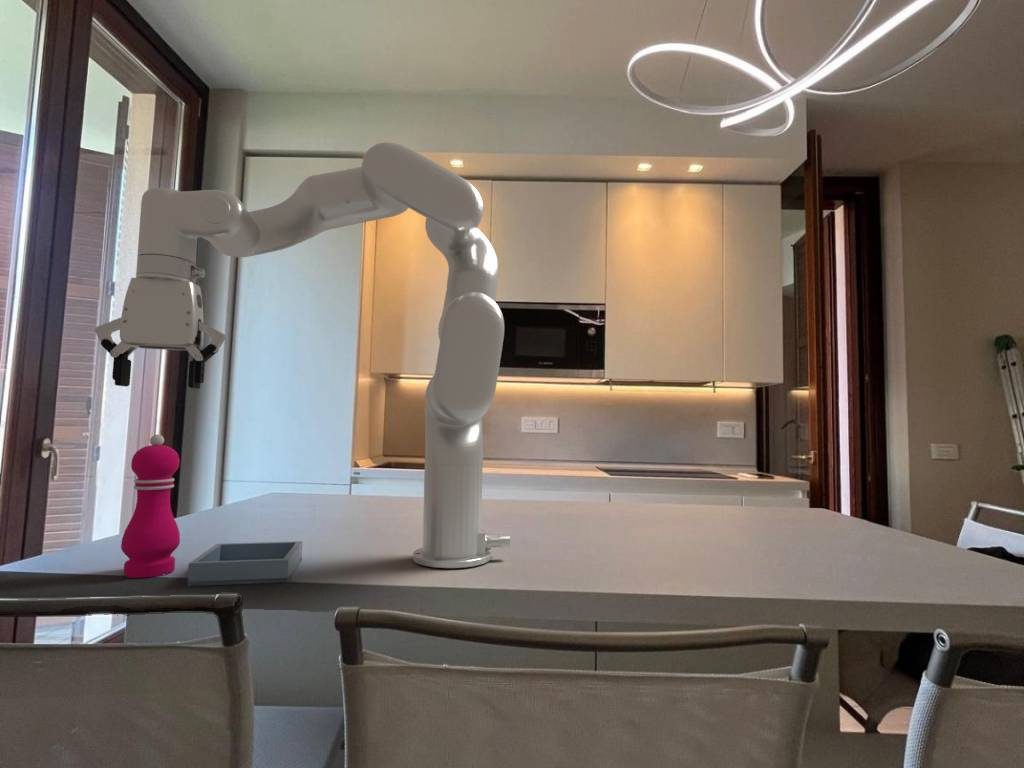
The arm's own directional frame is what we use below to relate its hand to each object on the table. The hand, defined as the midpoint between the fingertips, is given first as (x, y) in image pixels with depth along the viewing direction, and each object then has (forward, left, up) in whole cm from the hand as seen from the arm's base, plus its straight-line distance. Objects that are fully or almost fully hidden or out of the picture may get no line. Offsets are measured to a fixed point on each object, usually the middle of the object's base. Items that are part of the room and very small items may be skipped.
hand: (158, 386), depth 84 cm
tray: (-14, +2, -27) cm, 31 cm away
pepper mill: (0, 0, -27) cm, 27 cm away
